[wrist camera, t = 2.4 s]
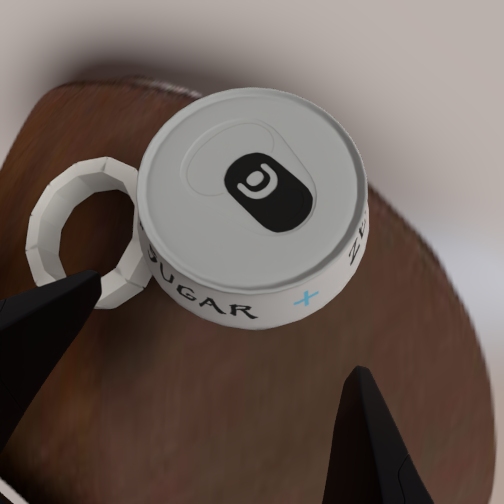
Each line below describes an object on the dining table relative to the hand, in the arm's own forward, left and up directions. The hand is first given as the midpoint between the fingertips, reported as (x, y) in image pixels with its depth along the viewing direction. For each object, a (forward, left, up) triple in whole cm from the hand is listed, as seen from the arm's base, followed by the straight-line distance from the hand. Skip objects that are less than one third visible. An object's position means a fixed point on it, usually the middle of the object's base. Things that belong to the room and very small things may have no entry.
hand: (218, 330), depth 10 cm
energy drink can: (+3, +2, -11) cm, 11 cm away
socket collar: (-5, +11, -11) cm, 16 cm away
